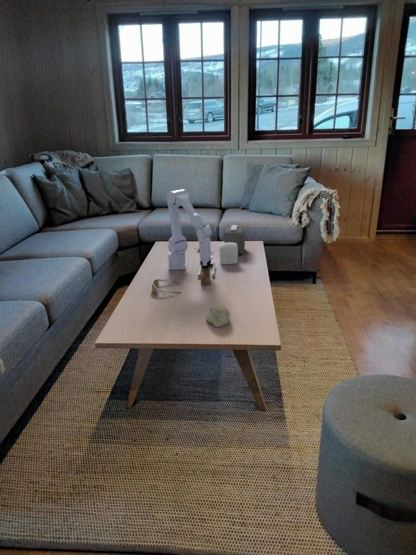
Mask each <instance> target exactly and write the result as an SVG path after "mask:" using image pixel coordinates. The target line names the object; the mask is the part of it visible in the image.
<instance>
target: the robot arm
mask: <svg viewBox="0 0 416 555" xmlns="http://www.w3.org/2000/svg"><path fill="white" fill-rule="evenodd" d="M166 202H167V203H166V204H167V207H168V208H167V209H168V214H169V222H170V227H171V237H170V238H169V239H168V247H167V248H168V251H169V252H168V256H167V259H168V260H167V261H168V270H169V271H170V270H171V271H173V270H174V271H175V270H176V271H177V270H180V271H181V270H187V268H188V267H187V266H188V263H187V262H186V252H187V249H188V247H189V246H188V241H187V238H186V236H184V235H182V234H183V233H182V226H181V217H180V210H179V207H180V206H181V207H182V208H183V209H184V210H185V212H186V213H187V214H188V215H189V217H190V218H189V219H190V220H189V221H190V222H191V224H192V226H193V227H194V229H195V231H196V232H195V233H196V236H197V241H198V243H199V247H198V248H200V250H199V251H200V253H199V265H200V264H201V266H202V268H209V266H210V264H211V263H212V259H214V256H213V255H211V251H212V248H211V246H212V245H211V237H212V235H213V228H212V227H211V225H209V224H208V223H206V221H204V219H203V217H202V216H201V214H199V213H197V212H196V209H194V207H193V205H192V203H191V201H190V195H189V193H188V191H187V189H185V188H182V189H177V190H172V191H168V193H166Z"/></svg>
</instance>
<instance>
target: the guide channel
mask: <svg viewBox="0 0 416 555" xmlns="http://www.w3.org/2000/svg"><path fill="white" fill-rule="evenodd" d="M201 268H202V266H201V264H200V263H199V269H198V273H197V278H198V279H201ZM209 268H210V270H212V272H211V273H212V274H211V275H212V277H211V278H212V279H213V278H214V279H215V272H216V263H213V262H211V264H210V266H209Z"/></svg>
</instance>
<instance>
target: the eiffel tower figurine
mask: <svg viewBox="0 0 416 555" xmlns="http://www.w3.org/2000/svg"><path fill="white" fill-rule="evenodd" d="M193 250H197V251H196V253H199V254H200V248H199V247H198V248H193ZM213 255H214V253H213V251H212V250H211V256H213Z"/></svg>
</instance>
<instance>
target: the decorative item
mask: <svg viewBox="0 0 416 555" xmlns="http://www.w3.org/2000/svg"><path fill="white" fill-rule="evenodd" d="M205 316H206V317H205V319H206V321H208V323H211V324H212V325H213V326H214V327H215V328H220V327H223V326H225V325H227V324H228V323H229V321H230V317H231V313H230V311H229V309H228V308H227V307H226V306H225V305H223V304H213V305H211V306H210V307H209V310H208V311H207V312H206V315H205Z"/></svg>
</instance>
